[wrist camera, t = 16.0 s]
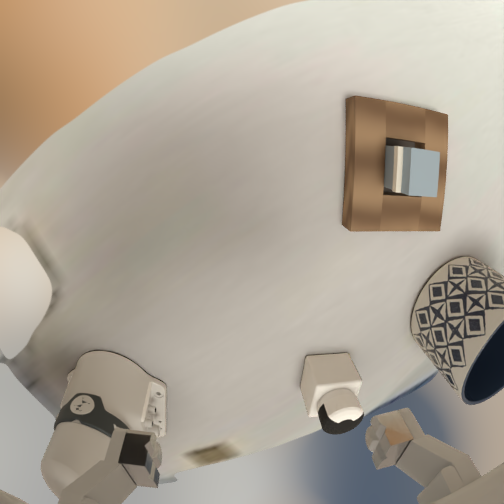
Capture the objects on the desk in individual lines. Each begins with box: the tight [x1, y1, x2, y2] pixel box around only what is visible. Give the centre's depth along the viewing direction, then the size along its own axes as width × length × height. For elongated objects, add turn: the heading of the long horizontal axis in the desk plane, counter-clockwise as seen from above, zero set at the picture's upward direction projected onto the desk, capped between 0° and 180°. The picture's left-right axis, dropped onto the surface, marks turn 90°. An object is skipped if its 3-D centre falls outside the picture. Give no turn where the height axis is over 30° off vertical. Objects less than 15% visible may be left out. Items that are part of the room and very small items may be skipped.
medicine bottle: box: [300, 353, 364, 434], centre depth 40 cm, size 7×7×12 cm
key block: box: [384, 146, 440, 197], centre depth 31 cm, size 5×5×8 cm
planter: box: [411, 257, 504, 405], centre depth 36 cm, size 18×18×16 cm
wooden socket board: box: [342, 96, 448, 231], centre depth 34 cm, size 16×14×3 cm
